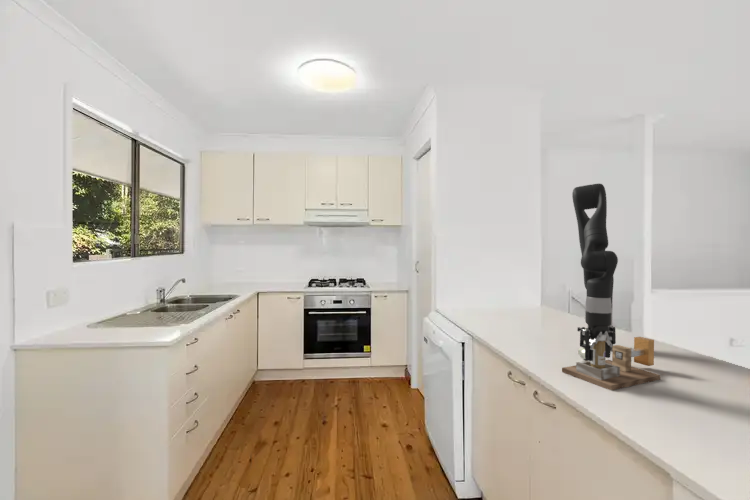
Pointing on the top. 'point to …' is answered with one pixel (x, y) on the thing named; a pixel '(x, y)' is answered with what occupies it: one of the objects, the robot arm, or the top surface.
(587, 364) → the socket base
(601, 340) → the spice jar
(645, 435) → the top surface
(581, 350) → the valve
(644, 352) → the bar
